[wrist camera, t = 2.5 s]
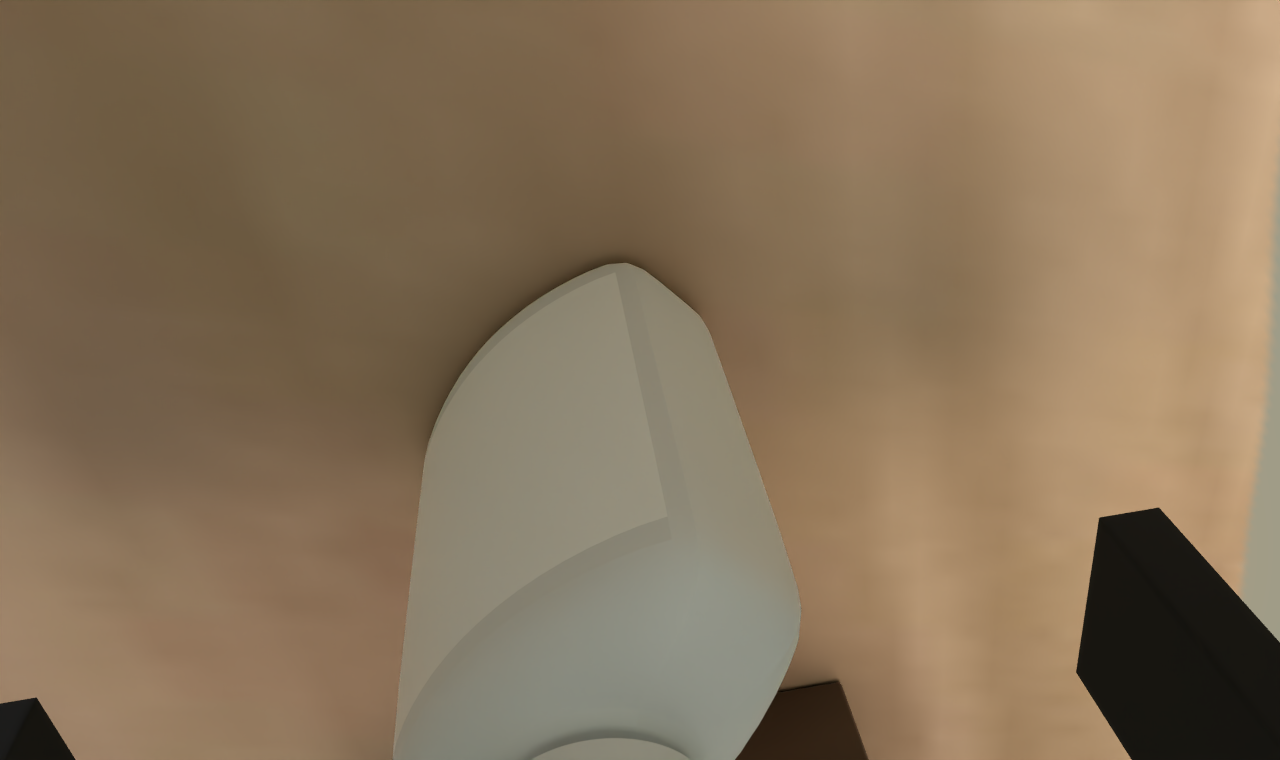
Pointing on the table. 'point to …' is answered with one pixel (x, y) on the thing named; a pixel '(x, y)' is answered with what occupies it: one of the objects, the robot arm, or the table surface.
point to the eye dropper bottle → (593, 545)
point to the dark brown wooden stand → (807, 727)
